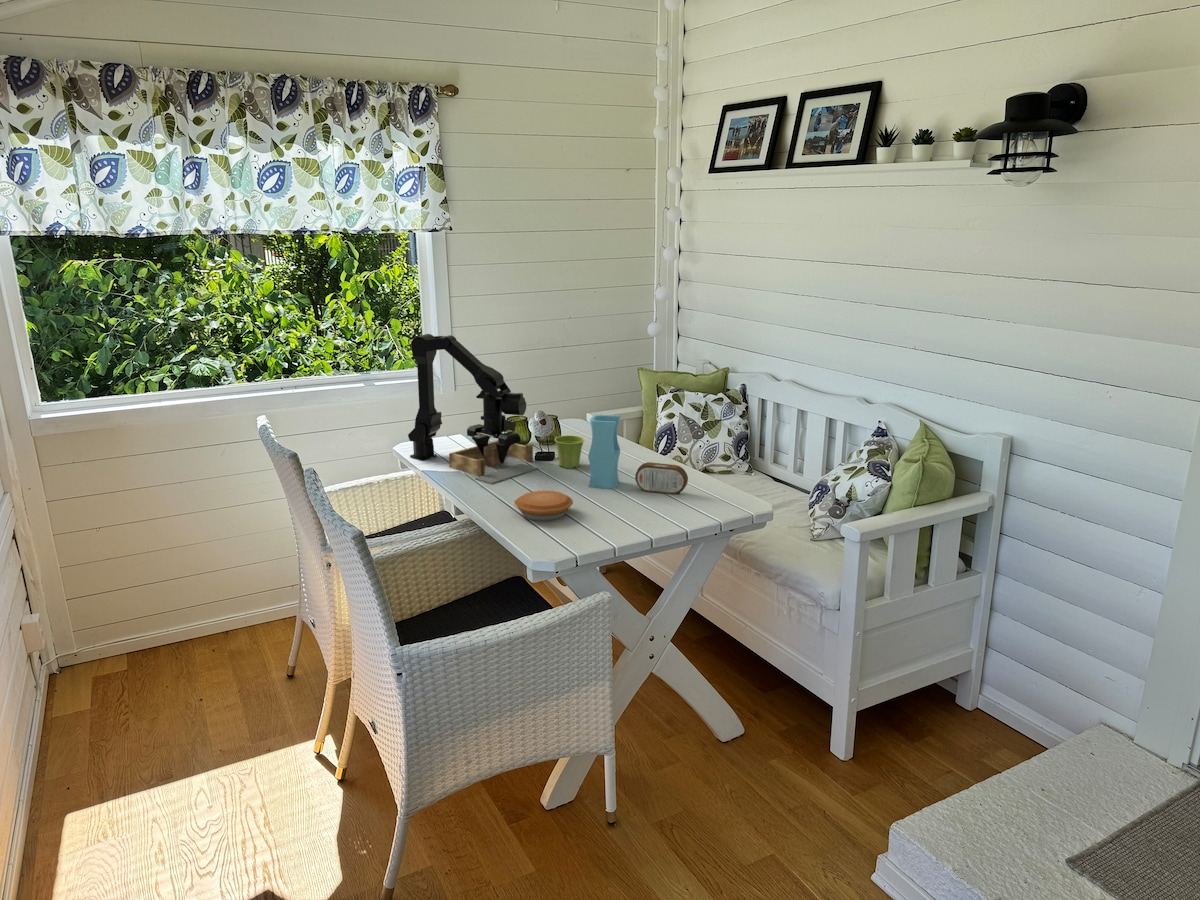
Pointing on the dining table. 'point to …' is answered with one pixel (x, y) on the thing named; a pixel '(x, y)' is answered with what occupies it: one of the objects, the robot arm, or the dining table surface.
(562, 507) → the pie
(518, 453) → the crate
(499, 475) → the mat
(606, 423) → the wavy blue tube
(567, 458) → the plant pot
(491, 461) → the block
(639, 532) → the dining table surface
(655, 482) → the tin
